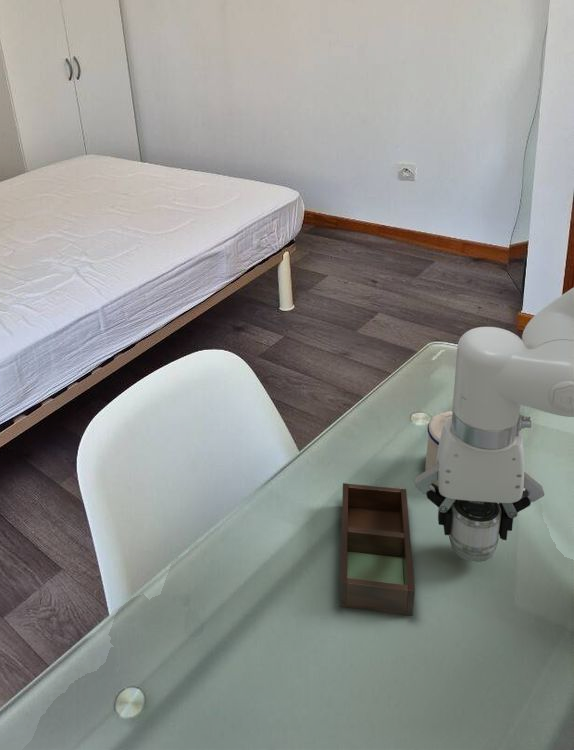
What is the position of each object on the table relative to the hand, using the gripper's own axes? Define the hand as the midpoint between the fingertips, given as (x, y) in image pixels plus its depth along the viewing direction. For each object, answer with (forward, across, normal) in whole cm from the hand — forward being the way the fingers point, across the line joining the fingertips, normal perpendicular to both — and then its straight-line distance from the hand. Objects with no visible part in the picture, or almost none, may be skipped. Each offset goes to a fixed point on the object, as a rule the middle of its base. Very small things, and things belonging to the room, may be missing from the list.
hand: (473, 528), depth 92 cm
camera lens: (+3, 0, 0) cm, 3 cm away
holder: (+5, +13, +1) cm, 14 cm away
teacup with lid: (+6, -1, -16) cm, 17 cm away
